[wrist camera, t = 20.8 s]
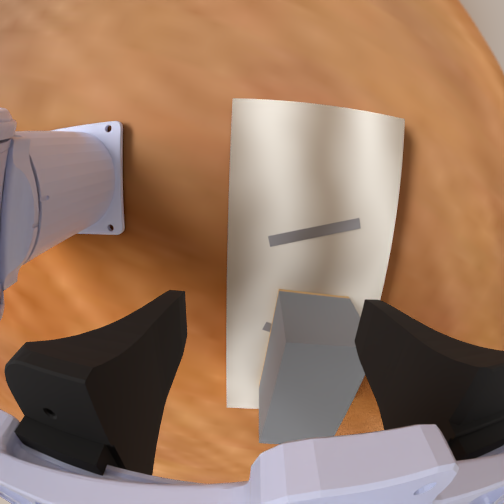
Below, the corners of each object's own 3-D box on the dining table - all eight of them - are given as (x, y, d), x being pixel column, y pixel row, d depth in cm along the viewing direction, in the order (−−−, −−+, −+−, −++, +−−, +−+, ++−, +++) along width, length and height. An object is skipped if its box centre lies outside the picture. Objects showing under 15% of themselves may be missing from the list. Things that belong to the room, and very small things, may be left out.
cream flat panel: (227, 397, 25) (226, 407, 24) (234, 101, 17) (232, 98, 16) (345, 397, 25) (348, 406, 24) (397, 120, 17) (404, 119, 16)
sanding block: (258, 385, 23) (258, 442, 17) (278, 288, 20) (286, 342, 14) (317, 389, 23) (329, 444, 18) (348, 296, 20) (376, 347, 15)
